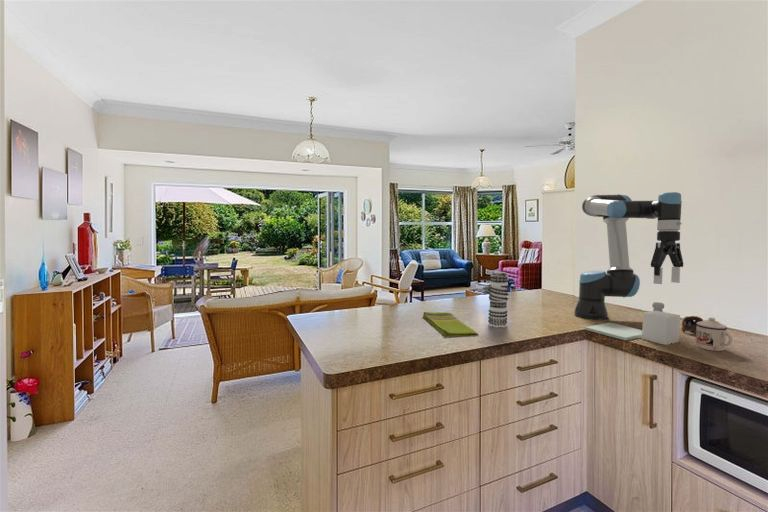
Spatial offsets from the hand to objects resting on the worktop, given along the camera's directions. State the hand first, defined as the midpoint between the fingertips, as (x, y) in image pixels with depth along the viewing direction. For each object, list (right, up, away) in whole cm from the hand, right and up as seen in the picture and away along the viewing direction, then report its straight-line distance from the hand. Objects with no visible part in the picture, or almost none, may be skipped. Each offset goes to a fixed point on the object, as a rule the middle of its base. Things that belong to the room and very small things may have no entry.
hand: (666, 283), depth 155 cm
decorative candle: (-62, -21, +23) cm, 70 cm away
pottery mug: (+21, -23, +13) cm, 34 cm away
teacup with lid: (+10, -25, -10) cm, 29 cm away
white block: (-3, -23, 0) cm, 24 cm away
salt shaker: (+5, -23, +13) cm, 27 cm away
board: (-13, -22, +12) cm, 28 cm away
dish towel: (-85, -22, +22) cm, 91 cm away
